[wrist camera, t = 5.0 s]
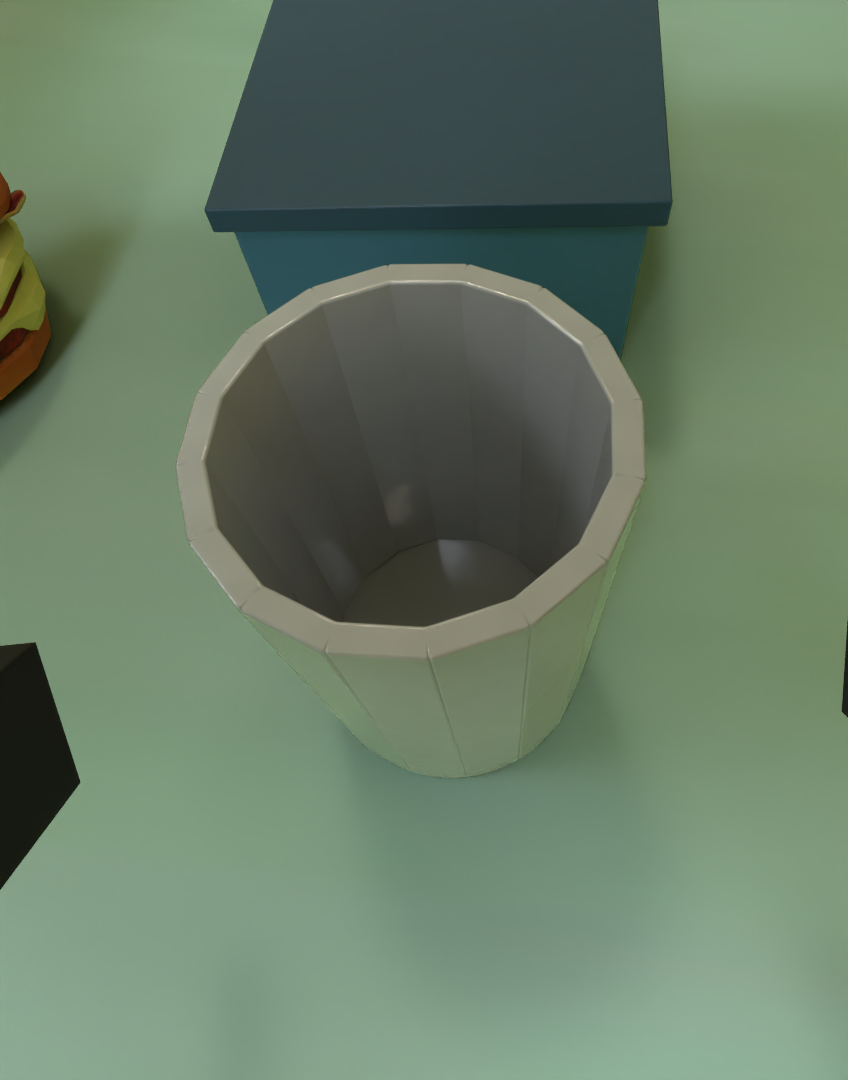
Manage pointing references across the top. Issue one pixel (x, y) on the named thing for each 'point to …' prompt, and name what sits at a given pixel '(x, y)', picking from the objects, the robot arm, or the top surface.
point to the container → (452, 145)
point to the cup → (420, 502)
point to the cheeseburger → (18, 300)
